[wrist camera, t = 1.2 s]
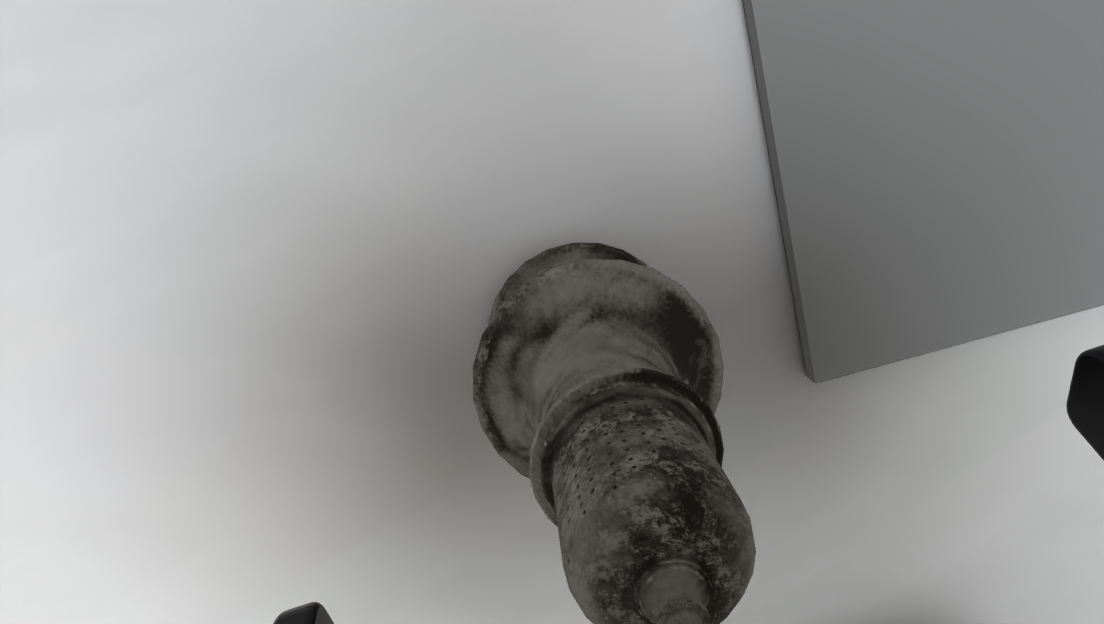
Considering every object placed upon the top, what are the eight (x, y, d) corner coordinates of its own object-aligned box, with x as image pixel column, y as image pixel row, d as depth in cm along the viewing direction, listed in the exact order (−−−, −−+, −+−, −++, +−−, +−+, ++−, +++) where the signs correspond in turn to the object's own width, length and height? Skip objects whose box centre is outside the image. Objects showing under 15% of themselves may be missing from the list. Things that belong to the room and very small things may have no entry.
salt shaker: (444, 388, 20) (374, 761, 9) (528, 196, 19) (571, 344, 8) (630, 458, 21) (782, 873, 10) (722, 281, 20) (1019, 525, 9)
